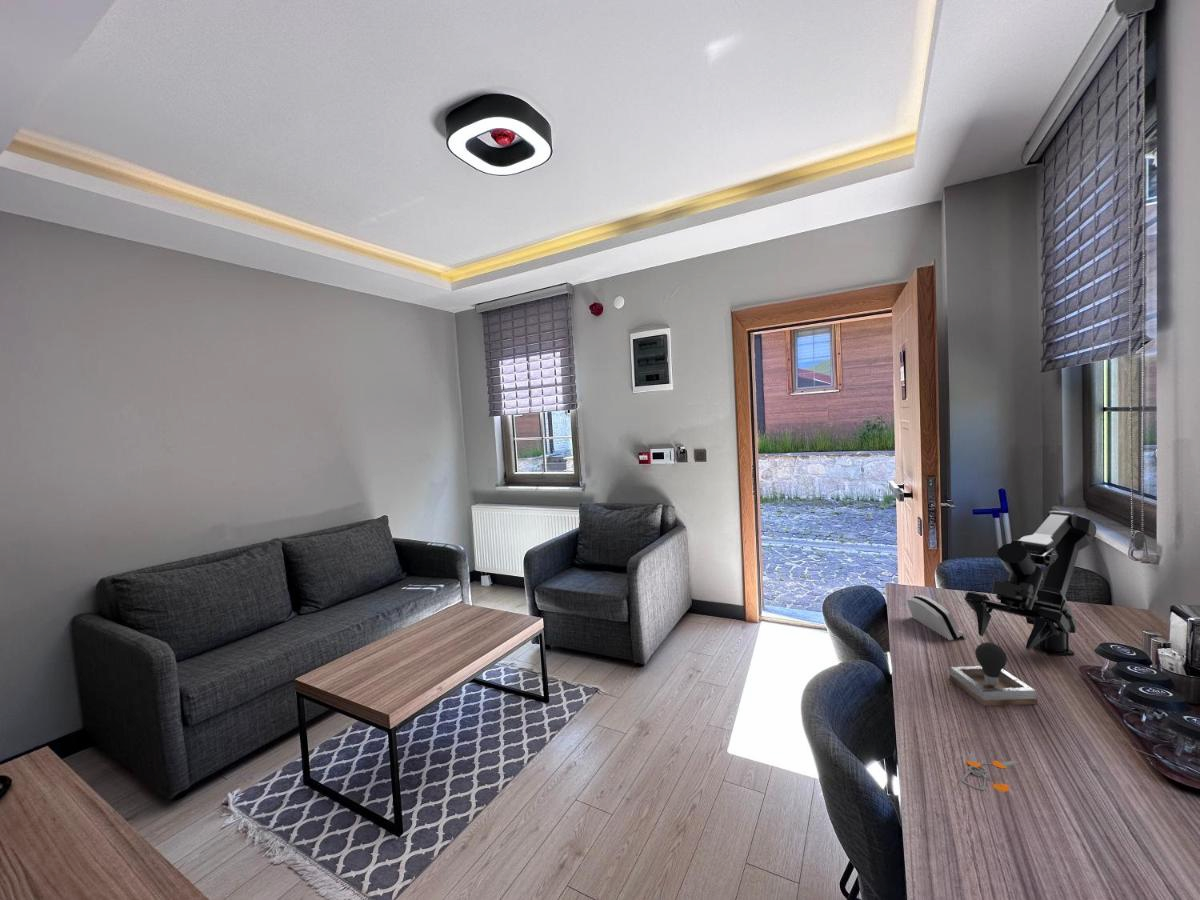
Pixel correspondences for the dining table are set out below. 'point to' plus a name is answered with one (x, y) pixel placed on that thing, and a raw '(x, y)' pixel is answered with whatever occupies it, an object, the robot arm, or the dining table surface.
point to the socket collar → (1014, 693)
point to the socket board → (1000, 685)
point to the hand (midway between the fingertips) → (1003, 642)
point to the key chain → (977, 765)
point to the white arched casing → (934, 616)
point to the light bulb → (991, 661)
